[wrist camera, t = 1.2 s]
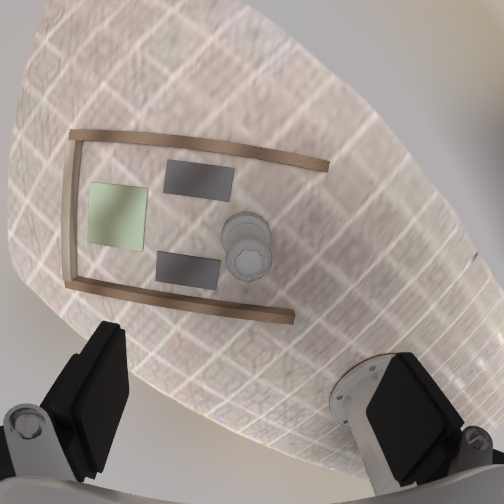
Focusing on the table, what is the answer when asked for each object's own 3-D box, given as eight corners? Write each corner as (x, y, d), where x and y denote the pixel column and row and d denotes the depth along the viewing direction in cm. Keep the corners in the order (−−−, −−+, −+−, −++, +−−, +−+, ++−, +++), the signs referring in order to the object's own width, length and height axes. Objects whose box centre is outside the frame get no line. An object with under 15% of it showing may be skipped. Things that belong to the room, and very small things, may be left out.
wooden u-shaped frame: (326, 161, 27) (330, 161, 25) (290, 318, 31) (293, 326, 30) (75, 130, 24) (68, 129, 23) (69, 283, 29) (63, 288, 28)
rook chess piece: (238, 266, 29) (239, 305, 22) (212, 227, 28) (203, 254, 20) (279, 242, 29) (294, 273, 21) (254, 201, 28) (260, 219, 20)
